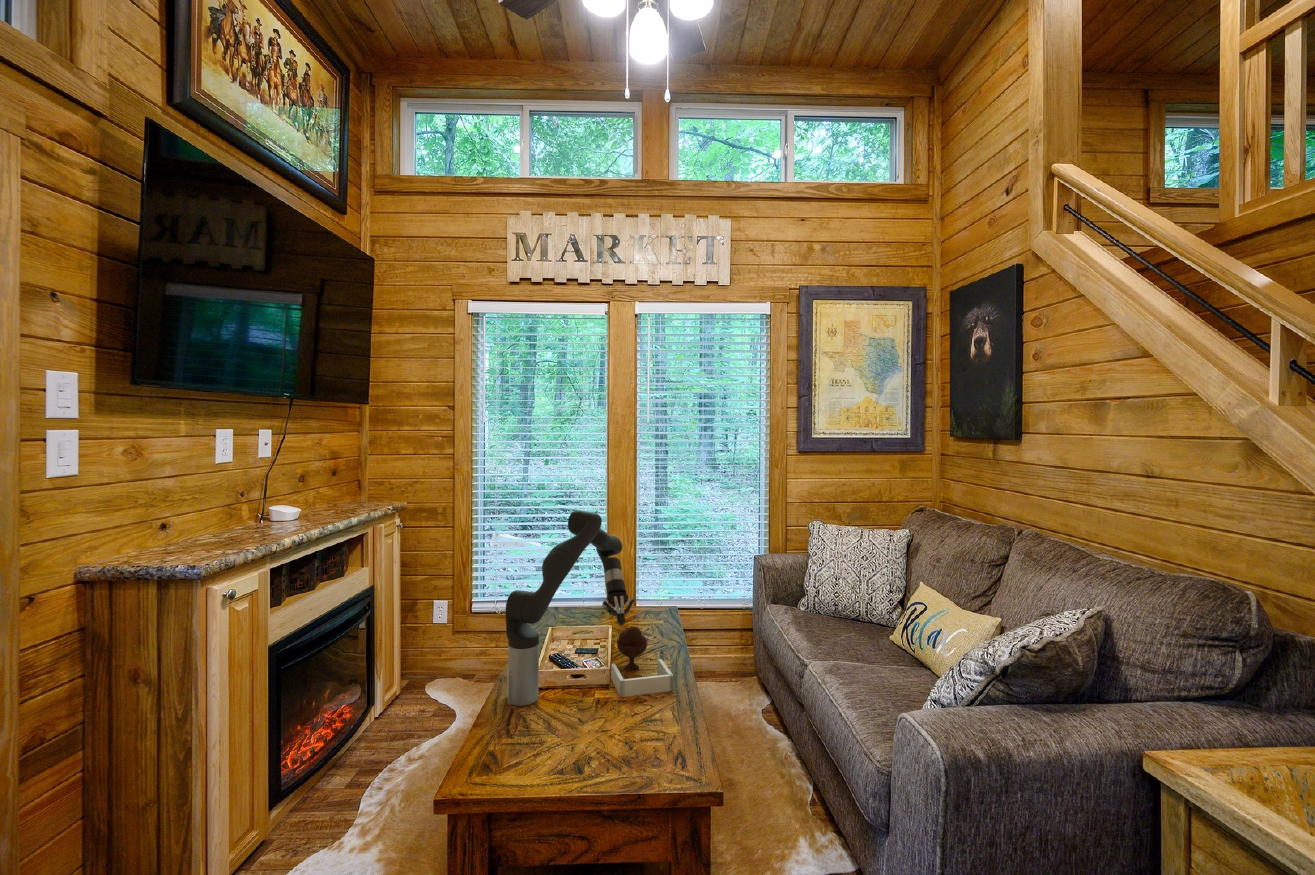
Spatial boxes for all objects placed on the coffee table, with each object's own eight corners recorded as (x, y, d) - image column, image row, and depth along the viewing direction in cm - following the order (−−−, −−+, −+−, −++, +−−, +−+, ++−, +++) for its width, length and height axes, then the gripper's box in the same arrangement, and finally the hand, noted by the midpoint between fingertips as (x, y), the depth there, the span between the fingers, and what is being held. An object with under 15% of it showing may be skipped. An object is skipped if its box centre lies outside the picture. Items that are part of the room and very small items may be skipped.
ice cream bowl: (652, 666, 207) (653, 624, 206) (634, 677, 197) (635, 633, 197) (628, 659, 212) (629, 618, 212) (609, 670, 203) (610, 627, 203)
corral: (620, 697, 183) (620, 681, 183) (611, 678, 196) (611, 664, 196) (673, 691, 188) (673, 675, 188) (660, 673, 201) (661, 658, 201)
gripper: (599, 579, 226) (605, 621, 214) (633, 577, 230) (640, 618, 218) (596, 589, 231) (602, 630, 219) (629, 587, 235) (636, 627, 223)
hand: (621, 624), depth 219 cm, fingers closed
